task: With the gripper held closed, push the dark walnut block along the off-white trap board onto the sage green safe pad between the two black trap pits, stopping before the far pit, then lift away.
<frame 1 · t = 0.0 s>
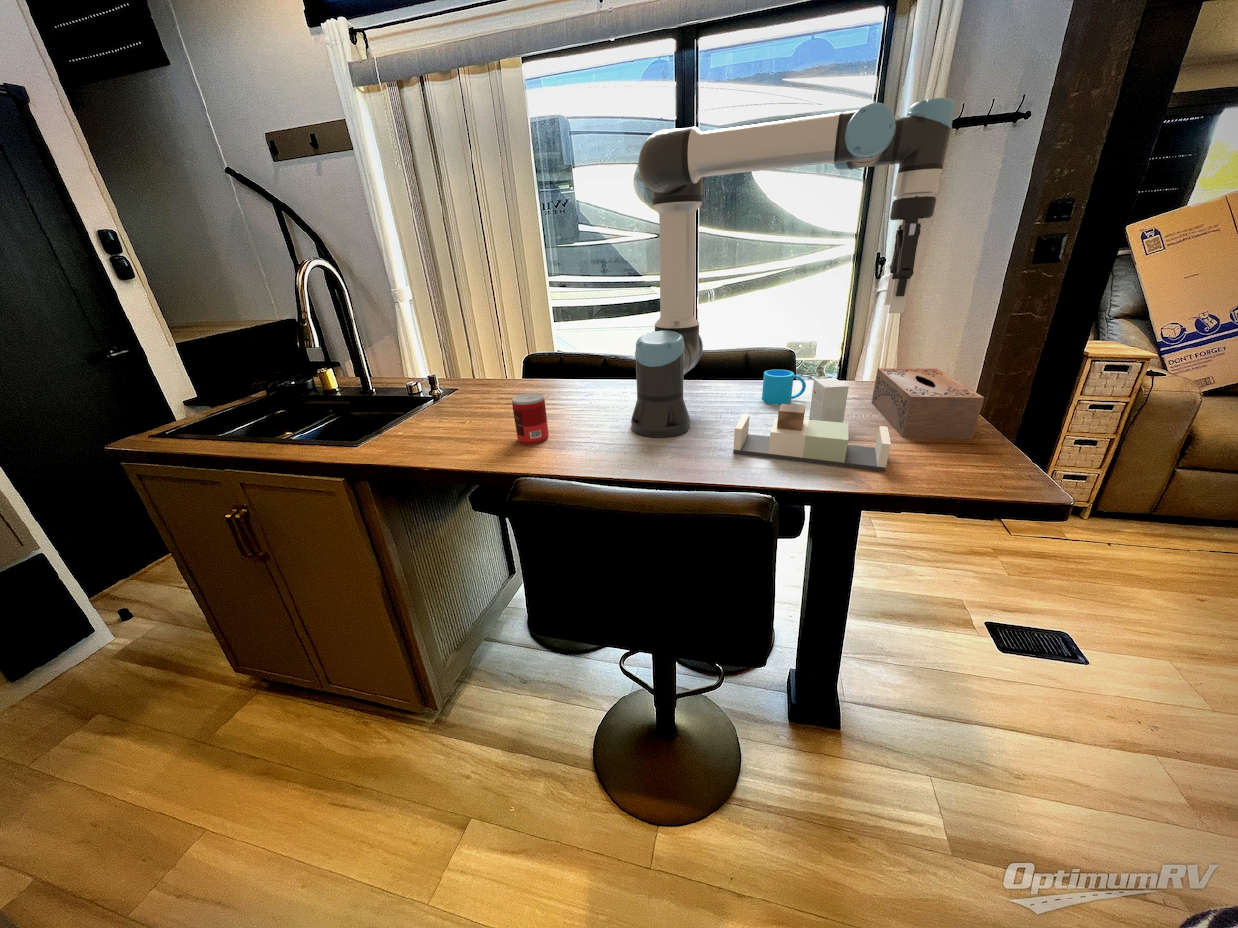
hand: (893, 308, 102), 28 cm above the kitchen island, tool pointing down, fingers open, 13 cm apart
small box: (824, 423, 119), on the kitchen island
canned food: (533, 439, 119), on the kitchen island
mug: (782, 401, 137), on the kitchen island
tissue box cover: (915, 420, 119), on the kitchen island
walnut block: (790, 425, 102), point 6 cm above the kitchen island, touching trap board
trap board: (806, 453, 103), on the kitchen island
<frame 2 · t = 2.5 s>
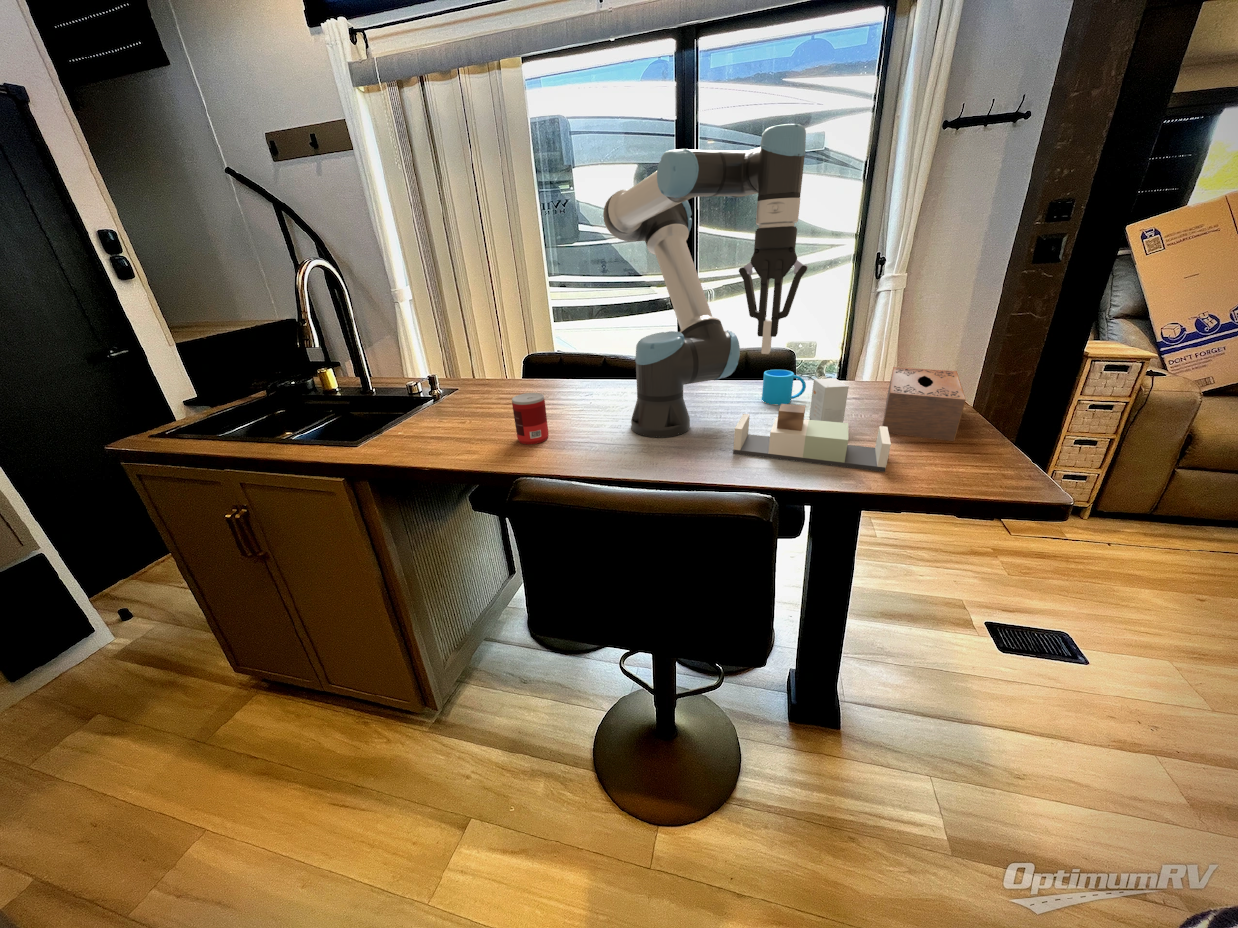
hand: (765, 352, 98), 22 cm above the kitchen island, tool pointing down, fingers closed
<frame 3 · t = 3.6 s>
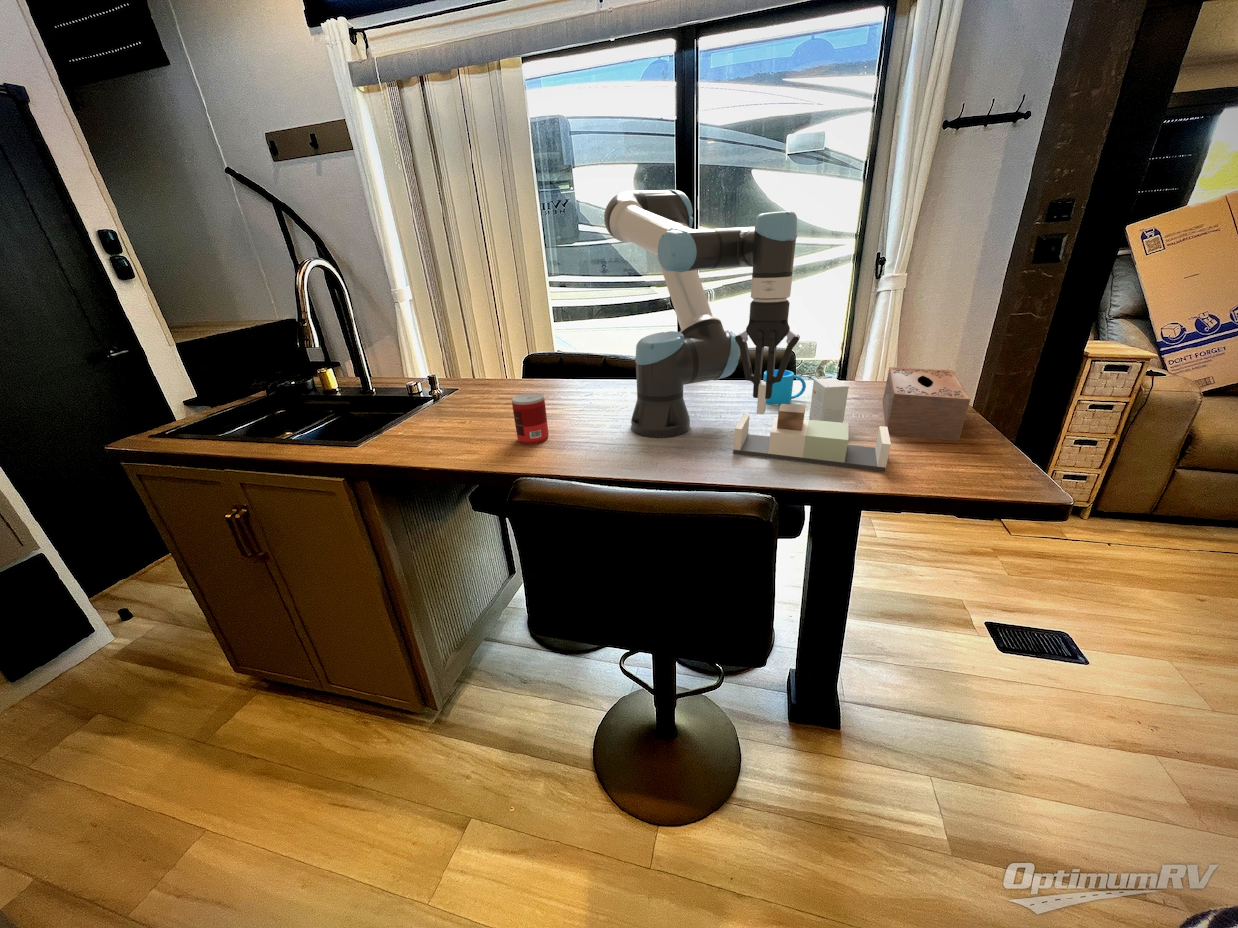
hand: (760, 412, 103), 9 cm above the kitchen island, tool pointing down, fingers closed
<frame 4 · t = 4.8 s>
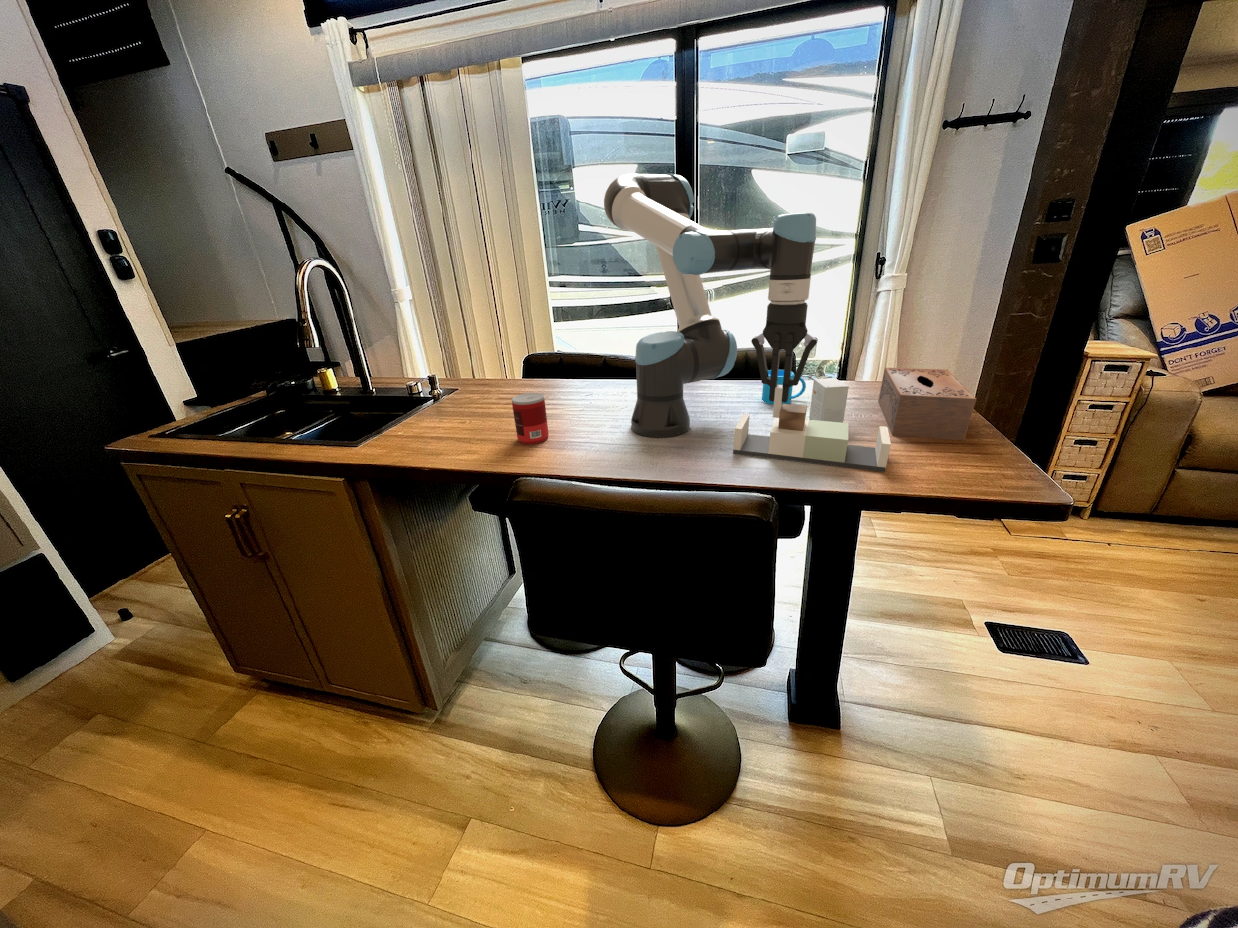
hand: (777, 415, 102), 8 cm above the kitchen island, tool pointing down, fingers closed
walnut block: (791, 425, 102), point 6 cm above the kitchen island, touching gripper
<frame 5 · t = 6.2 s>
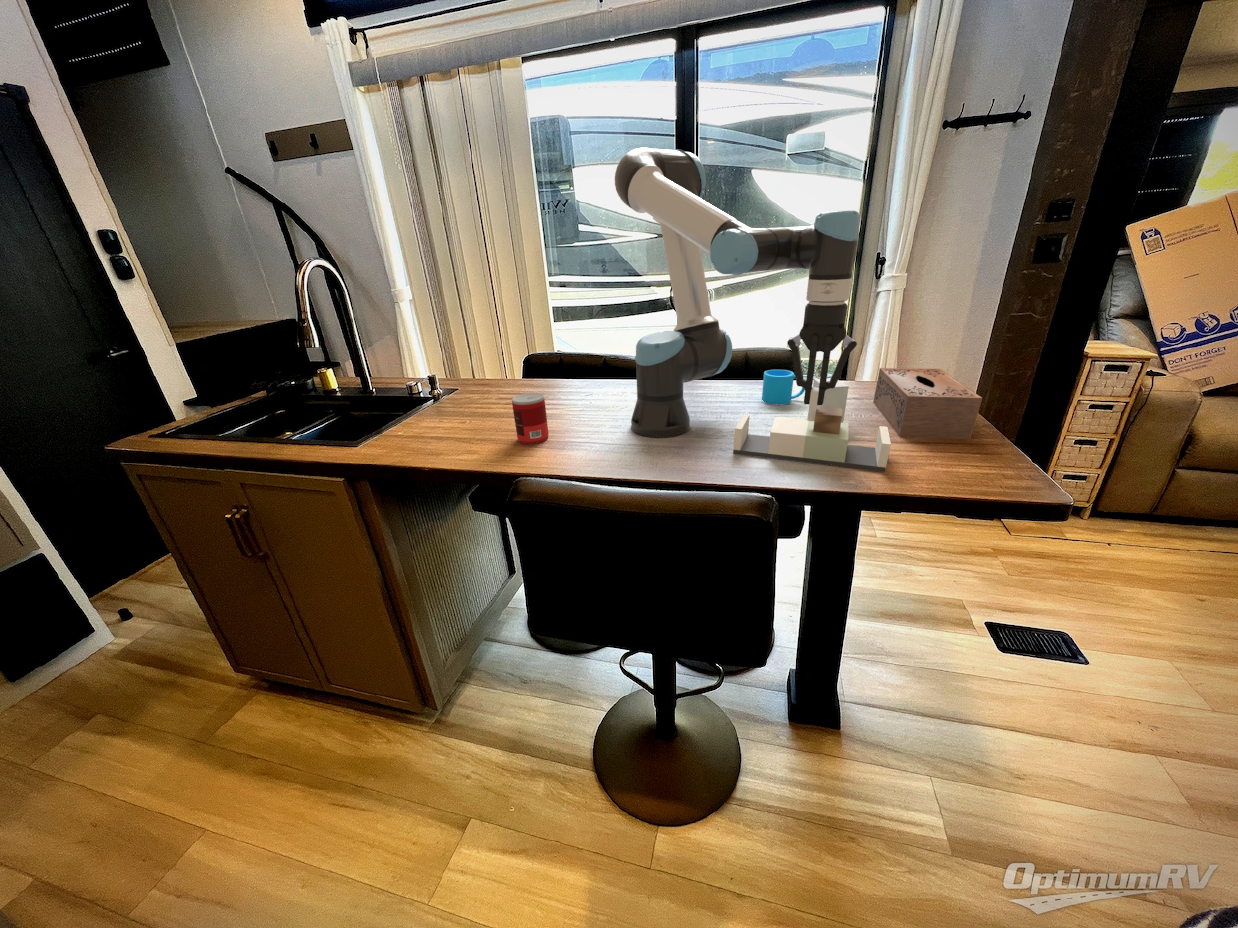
hand: (811, 418, 100), 8 cm above the kitchen island, tool pointing down, fingers closed
walnut block: (826, 429, 99), point 6 cm above the kitchen island, touching gripper, trap board
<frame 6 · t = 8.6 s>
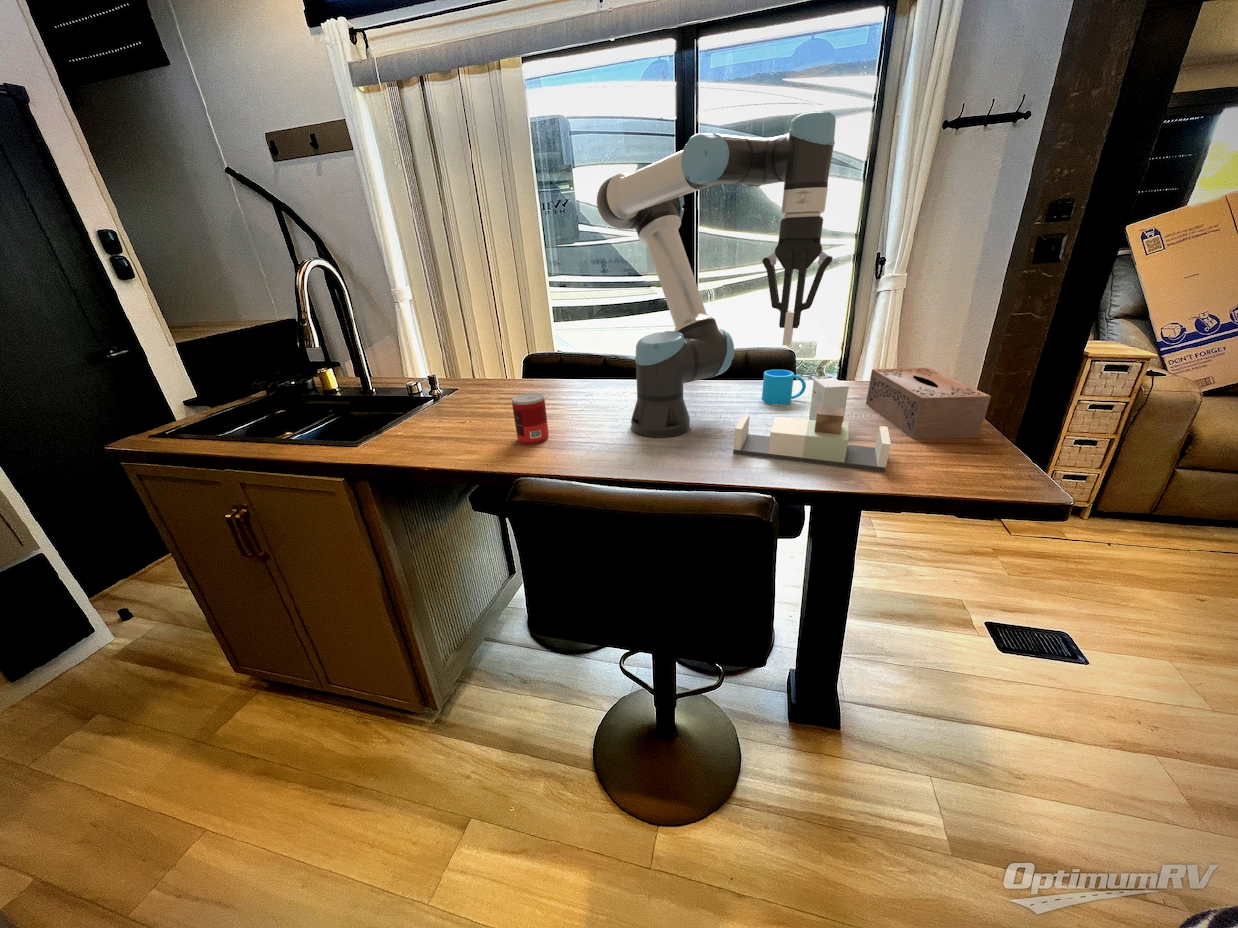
hand: (787, 343, 98), 23 cm above the kitchen island, tool pointing down, fingers closed
walnut block: (827, 429, 99), point 6 cm above the kitchen island, touching trap board
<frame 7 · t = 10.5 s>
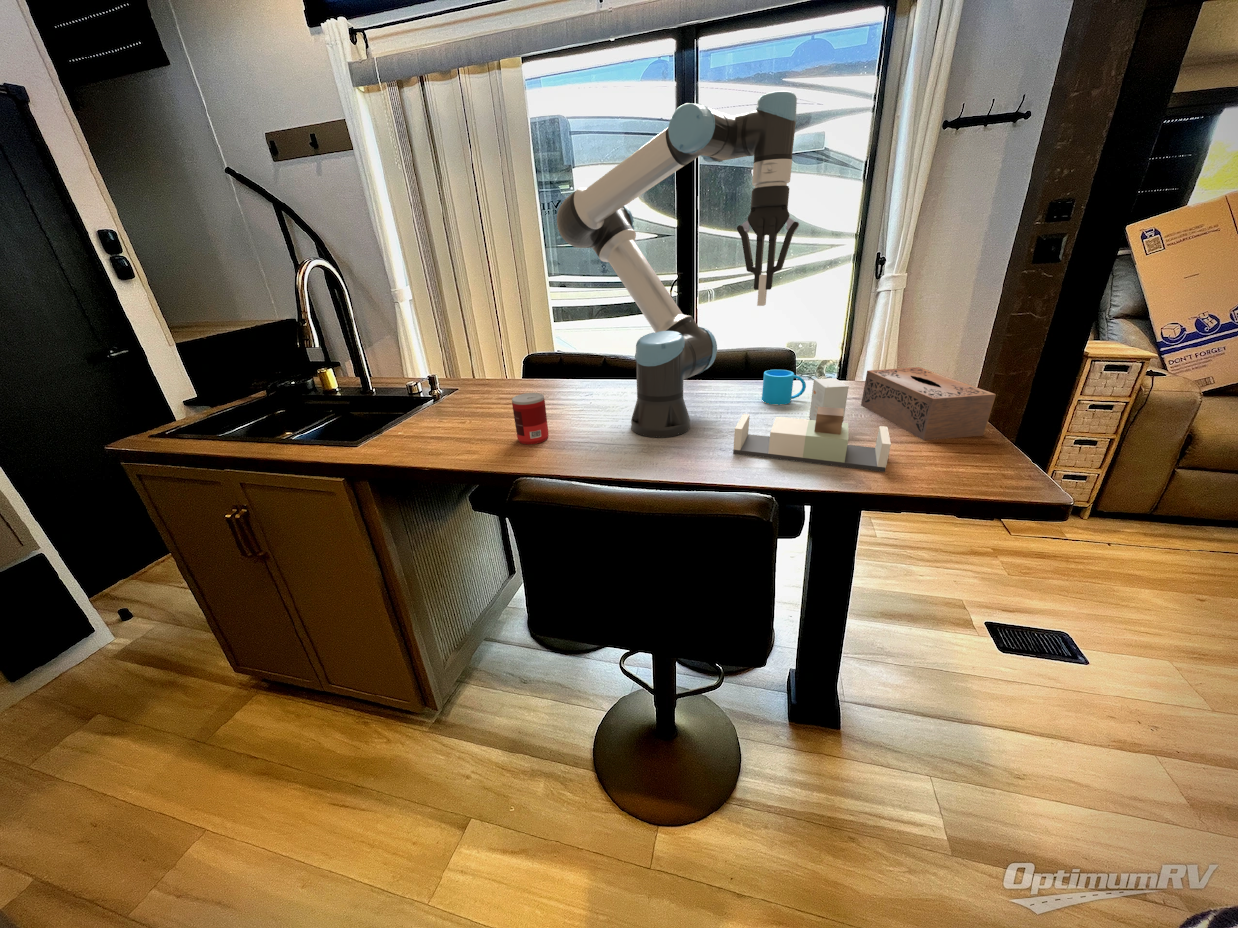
hand: (761, 305, 107), 29 cm above the kitchen island, tool pointing down, fingers closed
at the end: walnut block 0.3 cm from the target spot, point 6.0 cm above the kitchen island; walnut block tilted 0° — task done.
